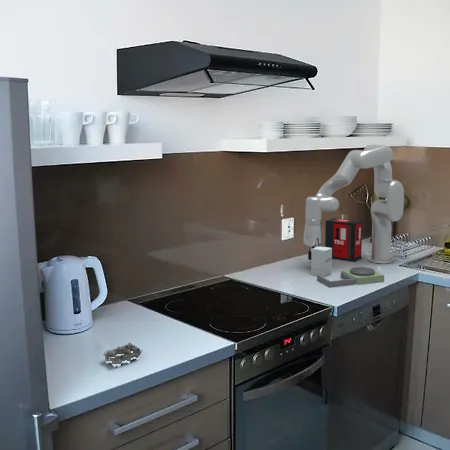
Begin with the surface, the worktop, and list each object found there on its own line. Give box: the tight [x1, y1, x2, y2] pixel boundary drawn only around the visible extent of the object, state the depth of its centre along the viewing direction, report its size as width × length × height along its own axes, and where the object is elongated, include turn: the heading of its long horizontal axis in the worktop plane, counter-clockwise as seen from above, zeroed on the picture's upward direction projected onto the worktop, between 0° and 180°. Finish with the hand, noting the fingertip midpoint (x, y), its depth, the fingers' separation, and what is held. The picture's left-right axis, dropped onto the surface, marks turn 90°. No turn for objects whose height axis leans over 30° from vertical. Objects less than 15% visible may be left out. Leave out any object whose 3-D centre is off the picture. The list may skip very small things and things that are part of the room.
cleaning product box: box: [324, 217, 363, 263], centre depth 291 cm, size 16×9×20 cm, turn 53°
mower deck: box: [316, 266, 385, 288], centre depth 252 cm, size 27×14×4 cm, turn 108°
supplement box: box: [310, 245, 333, 278], centre depth 262 cm, size 7×7×13 cm
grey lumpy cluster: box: [102, 342, 143, 365], centre depth 171 cm, size 11×8×4 cm
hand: (311, 259), depth 271 cm, fingers closed
